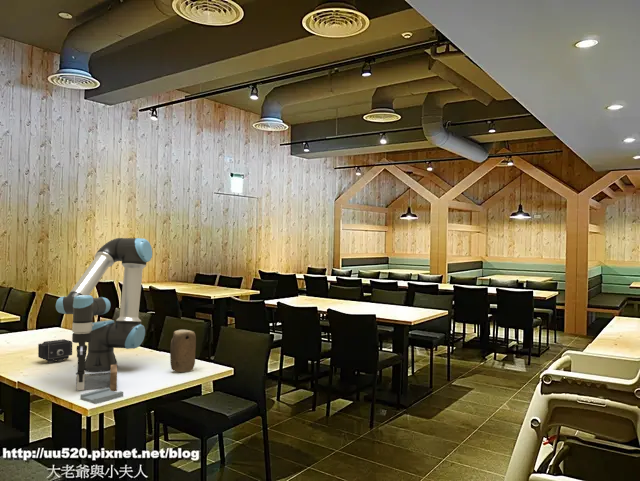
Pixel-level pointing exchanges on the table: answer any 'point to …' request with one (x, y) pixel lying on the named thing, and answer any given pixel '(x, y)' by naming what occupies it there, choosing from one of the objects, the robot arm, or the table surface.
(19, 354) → the table surface
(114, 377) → the beam
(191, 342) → the stone
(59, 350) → the camera
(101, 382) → the grey rectangular block
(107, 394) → the tray
